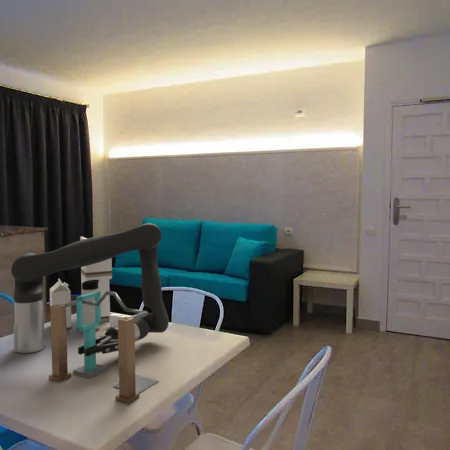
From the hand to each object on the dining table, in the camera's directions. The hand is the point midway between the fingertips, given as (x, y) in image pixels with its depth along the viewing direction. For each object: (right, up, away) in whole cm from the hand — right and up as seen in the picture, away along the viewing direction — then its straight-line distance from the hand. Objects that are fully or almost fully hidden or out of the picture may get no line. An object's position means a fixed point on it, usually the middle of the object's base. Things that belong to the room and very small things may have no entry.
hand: (82, 352), depth 133 cm
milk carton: (-24, -3, +48) cm, 53 cm away
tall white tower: (-12, -2, +59) cm, 60 cm away
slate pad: (+17, -7, -6) cm, 20 cm away
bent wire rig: (+7, -8, -6) cm, 12 cm away
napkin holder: (+1, -4, +47) cm, 47 cm away
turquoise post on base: (+1, -7, +3) cm, 8 cm away
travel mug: (-10, -4, +43) cm, 44 cm away
